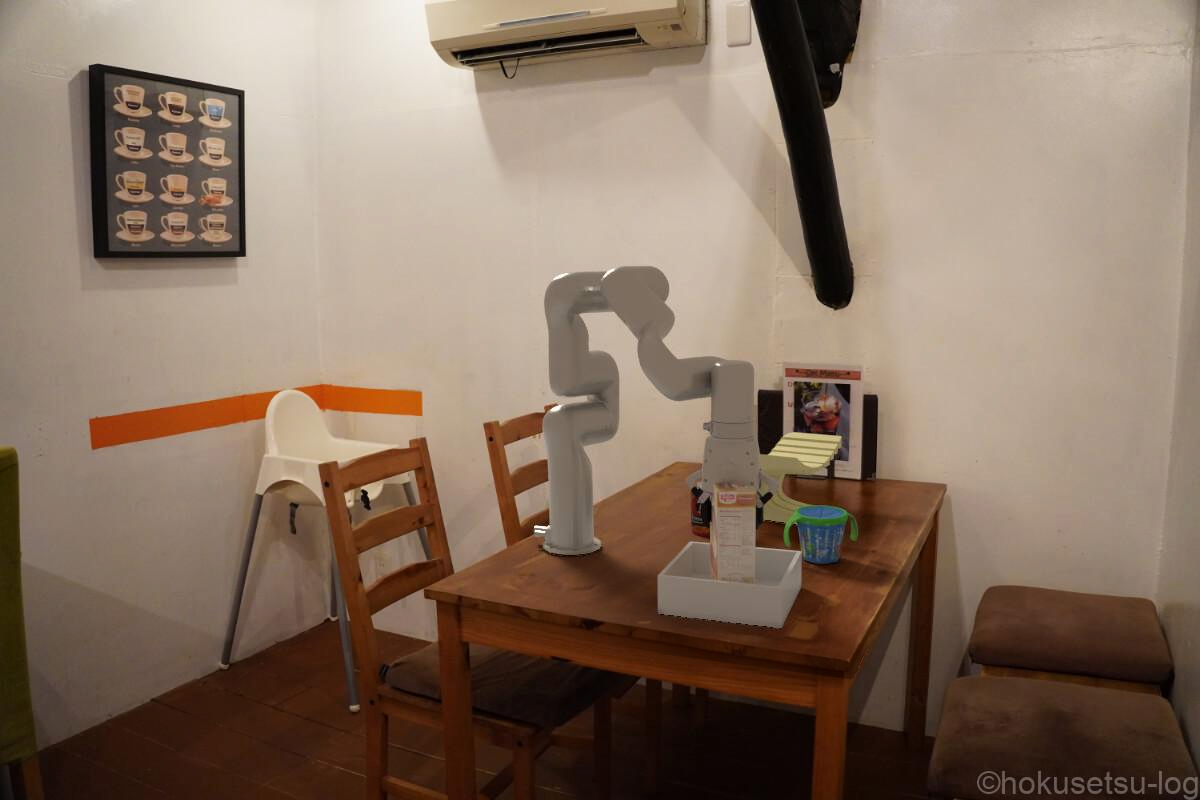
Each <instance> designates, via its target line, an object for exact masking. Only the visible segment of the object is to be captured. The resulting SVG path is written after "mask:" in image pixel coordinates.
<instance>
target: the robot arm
mask: <svg viewBox="0 0 1200 800" xmlns="http://www.w3.org/2000/svg"><path fill="white" fill-rule="evenodd" d="M669 294H670V283H669V280H668V278H667V276H666V275H665V273H664V272H663V271H662V270H661V269H659V268H657V267H655V266H651V265H629V266H628V265H626V266H623V265H622V266H618V267H617V266H616V267H614V268H612V269H610V270H607V271H602V270H601V271H573V272H567V273H562V274H560V275H558V276H556V277H555V278H553V279H552V280H551V281H550V282H549V283H548V285H547V287H546V289H545V293H544V297H543V298H544V299H543V306H544V308H543V309H544V314H545V315H544V316H545V320H546V325H547V331H548V382H549V387H550V390H551V392H552V393H553V394H554V395H555V396H557V397H559V398H565V399H566V398H567V399H569V398H571V399H572V398H580V397H586V401H578V402H570V403H569V402H568V403H563V404H559V405H556V406H554V407H552V408H550V409H549V410H547V412H546V413H545V414H544V416H543V419H542V424H541V425H542V426H541V427H542V436H543V440H544V444H545V449H546V455H547V456H546V457H547V472H548V473H547V474H548V476H547V477H548V505H549V506H548V507H549V509H548V510H549V512H548V513H549V514H548V515H549V516H548V517H549V525H548V526H542V525H535V526H534V527H533V534H534V537H535V538H544V539H545V541H544V542H543V543H542V548H544V549H545V550H547V551H549V552H553V553H557V554H585V553H590V552H593V553H595V552H594V551H596V550H598V549H599V550H600V549H601V548H602V541H601V540H600V539H599V538H597V537H595V532H594V531H595V530H594V485H593V484H594V481H593V465H592V462H591V460H590V458H589V456H588V454H587V453H586V451H585V447H587V446H592V445H596V444H597V445H598V444H602V443H606V442H609V441H611V440H612V439H614V437H615V436H616V434H617V433H618V430H619V425H620V372H619V367H618V365H617V363H616V361H615V359H614V357H613V356H612V355H611V354H610V353H608V352H606V351H603V350H590V348H589V347H590V345H589V342H590V339H589V338H590V337H589V330H588V327H587V325H586V323H585V321H584V319H583V318H582V317H581V314H591V313H592V314H594V313H595V314H598V313H612V312H613V313H614V314H616V316H617V317H618V318H619V319H620V320H621V321H622V323H623V324H624V325H625V326H626V327H627V328H628V330H629V331H630V332H631V333H632V334H633V336H634V337H635V339H637V345H636V347H637V349H636V351H637V357H638V360H639V361H638V362H639V366H640V367H641V371H642V372H643V373H644V375H645V377H646V378H647V379H648V381H650V382H651V384H652V385H653V386H654V387H655V388H656V390H657V391H658V392H659V393H660V394H662V395H663V396H664V398H667V399H668V400H671V401H674V402H686V401H692V400H697V399H706V398H710V420H709V421H707V422H703V424H702V429H703V431H707V432H709V436H707V437H706V439H705V441H704V442H705V444H704V450H703V457H702V467H701V469H699V470H697V471H695V472H693V473H692V474H690V475H688V476H687V477H686V478H684V480H685V483H686V485H687V486H688V488H689V489H690V493H691V492H692V493H693V494H694V496H695V497H696V498H697V499H698V501H699V502H700V503H701V519H703V525H708V524H709V523H710V522H711V501H710V500H709V497H710V495H711V494H713V486H714V483H720V484H735V485H747V486H754V488H755V491H756V530H758V529H759V528H760V526H761V525H763V523H764V520H763V509H764V505H765V504H766V503H767V502H768V501H769V500H770V499H771V498H772V497H773V496H774V494H775V493H776V491H777V490H778V488H779V487H780V483H779V482H778V481H776V480H775V479H773V478H772V477H770V476H769V475H767V474H766V473H764V472H763V471H761V461H760V454H761V452H760V447H759V446H760V445H759V442H758V441H759V440H758V438H757V437H755V436H754V435H755V433H754V432H755V431H754V430H755V429H754V428H755V408H754V407H755V368H754V365H753V364H752V363H751V362H750V361H747V360H739V359H735V360H734V359H730V360H729V359H726V358H722V357H718V356H713V355H705V356H695V357H694V356H693V357H686V358H685V357H684V358H677V357H676V356H675V355H674V354H673V353H672V352H671V350H670V349H669V348H668V347H667V345H666V344H665V342H663V340H664V339H665V338H666V337H667V336H668V335H669V333H670V332H671V331H672V330H673V328H674V325H675V321H676V316H675V314H674V311H673V310H672V309H671V308H670V307H669V306H668V304H666V302H667V300H668V297H669ZM698 479H701V481H702V489H703V491H704V492H703V491H702V489H701V488H700V487H699V486H698V485H697V483H696V482H697V480H698ZM761 482H764V483H765V484H767V485H768V486H769V490H768V492H767V493H766V494H765V495H764V496H763V495H762V494H761V492H760V491H759V489H760V488H761ZM600 547H601V548H600ZM544 549H543V550H544ZM545 550H544V551H545ZM599 550H598V551H599ZM596 552H597V551H596ZM590 554H591V553H590ZM585 555H586V554H585Z"/></svg>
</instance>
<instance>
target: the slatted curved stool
mask: <svg viewBox="0 0 1200 800" xmlns="http://www.w3.org/2000/svg"><path fill="white" fill-rule="evenodd" d="M842 437H843V436H842V435H833V434H832V435H831V434H819V433H808V432H807V433H806V432H805V433H804V432H795V431H792V432H788V433H786V434H785V435H783V436H781V437H780V439H779V441H778V442H777V443H776V444H775V446H774V447H773V448H771V451H770V452H769V453H768V454H762V453H760V461H761V471H763V472H764V473H766V474H767V475H769V476H770V477H772V478H773V479H775V480H776V481H778V482H779V483H780V487H779V488H778V490H777V491H776V493H775V494H774V496H773V497H772V498H771V499H770V500H769V501H768V502H767V503H766V504H765V505H764V509H763V519H764V520H763V521H765V520H771V521H770V522H772V521H776V522H775V523H779V522H784V523H783V524H786V523H787V521H788V520H789V518H790V517H792V516H793V515H794V514H795V511H796V510H797V509H798V508H801V507H805V506H813V505H814V504H808V503H805V502H801V501H797V500H794V499H792V498H790V497H788V496H787V495H786V494H785V493H784V491H783V483H784V478H785V476H786V475H799V476H800V475H802V476H803V475H804V476H812V475H813V474H815V473H817V472H819V471H821V470H823V469H824V468H827V467H828V466H830V465H831V463H830V461H832V460H834V459H835V458H834V457H835V455H836V454H838V453H839V452H838V451H839V449H842V439H843V438H842ZM768 490H769V486H768V485H767V484H765V483H764V482H761V488H760V489H759V491H760V492H761V494H762V495H763V496H764V495H765V494H766V493H767V492H768ZM777 521H778V522H777ZM793 524H796V525H795V526H798V525H797V522H796V521H795V522H794V523H793Z"/></svg>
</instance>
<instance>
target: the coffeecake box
mask: <svg viewBox="0 0 1200 800" xmlns="http://www.w3.org/2000/svg"><path fill="white" fill-rule="evenodd" d="M710 501H711V522H710V536H709V537H710V539H709V543H710V575H711V579H712V580H719V581H729V582H738V583H748V584H755V547H756V534H757V533H756V530H757V529H756V491H755V488H754V486H747V485H735V484H720V483H714V486H713V494H711V495H710Z"/></svg>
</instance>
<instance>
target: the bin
mask: <svg viewBox="0 0 1200 800" xmlns="http://www.w3.org/2000/svg"><path fill="white" fill-rule="evenodd" d="M802 557H803V556H802V551H801V550H791V549H779V548H778V549H777V548H767V547H756V546H755V584H748V583H738V582H729V581H719V580H712V579H711V575H710V542H702V541H701V542H699V541H692V540H691V541H688V543H687V544H686V545H685V546H684V547H683V548H682V549H681V550H680V551H679V552H678V554H676V555H675V556H674V558H673V559H672V560H671V561H670V562H669V563H668V564H667V565H666V566H665V567H664V568H663V570H662V571H660V573H659V574H658V575H657V615H660V614H664V615H663V616H668V615H674V616H673V617H677V616H681V617H680V618H685V617H687V618H688V619H694V618H697V619H696V620H702V619H706V620H705V621H711V620H716V621H715V622H719V621H722V623H728V622H730V624H736V623H741V624H740V625H745V624H748V625H747V626H753V625H758V626H757V627H762V626H767V627H766V628H770V627H773V628H772V629H779V628H782V629H783V626H784V624H785V623H786V620H787V618H788V616H789V613H790V611H791V609H792V608H793V605H794V604H795V601H796V599H797V597H798V596H799V593H800V591H801V589H802V561H803V560H802V559H803V558H802ZM698 618H699V619H698ZM707 619H708V620H707ZM784 622H785V623H784Z"/></svg>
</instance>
